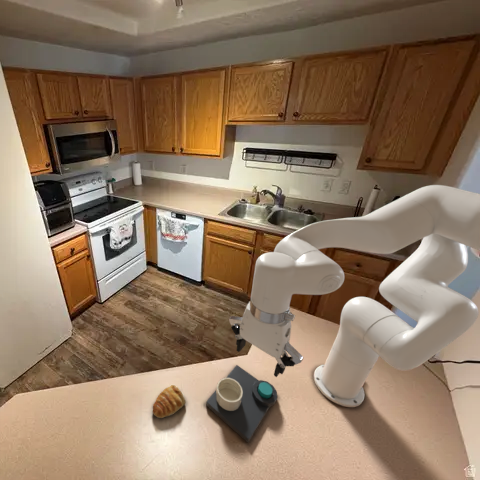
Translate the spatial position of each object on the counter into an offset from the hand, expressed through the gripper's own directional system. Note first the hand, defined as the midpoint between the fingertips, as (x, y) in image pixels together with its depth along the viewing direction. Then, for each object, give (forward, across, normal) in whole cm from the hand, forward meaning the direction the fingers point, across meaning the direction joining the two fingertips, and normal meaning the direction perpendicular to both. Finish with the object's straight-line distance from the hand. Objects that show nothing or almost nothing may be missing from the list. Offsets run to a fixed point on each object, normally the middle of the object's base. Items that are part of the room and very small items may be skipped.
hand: (258, 359), depth 63 cm
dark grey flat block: (+20, +2, +1) cm, 20 cm away
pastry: (+20, +16, +16) cm, 30 cm away
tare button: (+17, -2, -5) cm, 18 cm away
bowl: (+18, +5, +4) cm, 19 cm away
